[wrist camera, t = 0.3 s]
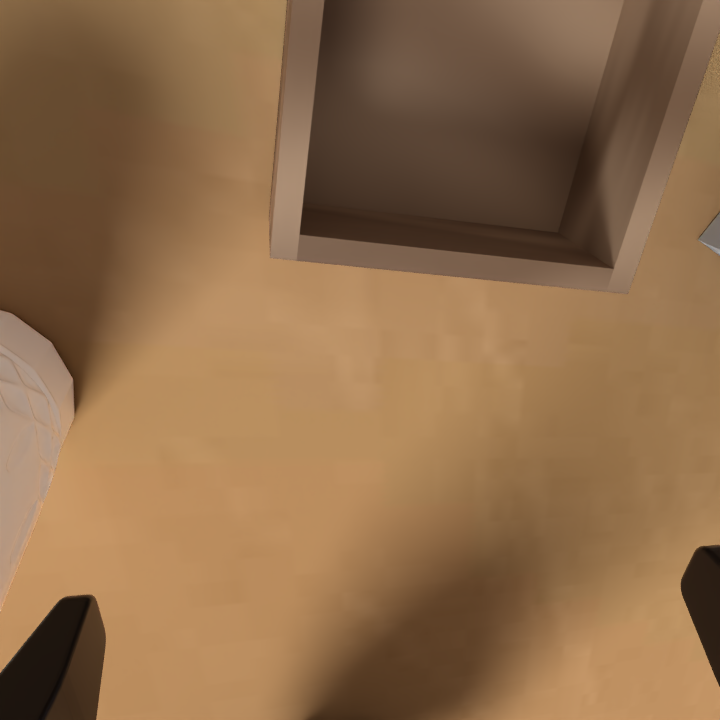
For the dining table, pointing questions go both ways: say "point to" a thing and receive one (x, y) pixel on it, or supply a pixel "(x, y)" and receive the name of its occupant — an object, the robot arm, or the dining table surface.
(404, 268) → the big crate
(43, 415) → the white cup
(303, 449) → the dining table surface
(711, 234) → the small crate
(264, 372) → the dining table surface
